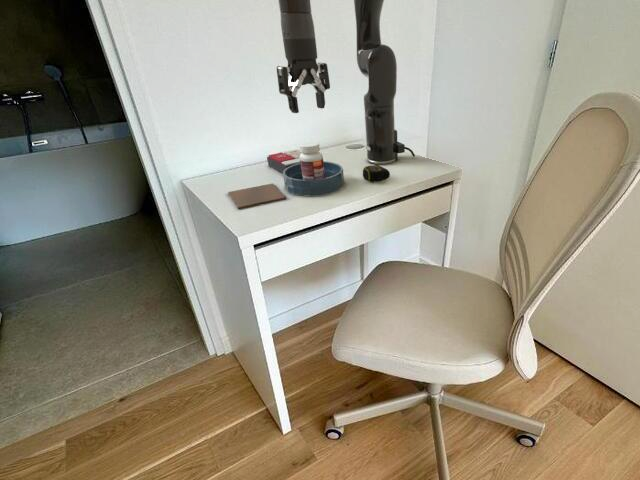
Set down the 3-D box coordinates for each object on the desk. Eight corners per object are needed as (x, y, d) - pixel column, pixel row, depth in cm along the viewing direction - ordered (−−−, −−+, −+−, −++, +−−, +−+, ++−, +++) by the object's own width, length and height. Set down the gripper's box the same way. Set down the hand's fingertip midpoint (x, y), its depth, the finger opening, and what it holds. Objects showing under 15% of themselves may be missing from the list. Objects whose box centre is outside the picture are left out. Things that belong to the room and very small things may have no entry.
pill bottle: (319, 189, 106) (313, 148, 100) (299, 187, 108) (292, 146, 102) (330, 182, 111) (325, 141, 105) (311, 180, 113) (305, 140, 106)
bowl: (330, 172, 119) (329, 157, 116) (353, 189, 108) (352, 173, 105) (278, 182, 112) (275, 167, 109) (297, 201, 101) (294, 184, 98)
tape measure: (391, 181, 113) (390, 168, 110) (370, 186, 109) (369, 173, 107) (379, 174, 117) (378, 162, 115) (359, 179, 114) (358, 166, 112)
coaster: (272, 185, 110) (272, 183, 110) (286, 199, 102) (285, 197, 102) (228, 194, 105) (228, 191, 105) (238, 209, 97) (238, 207, 96)
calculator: (297, 148, 128) (319, 156, 118) (300, 161, 130) (321, 170, 120) (265, 154, 122) (285, 163, 112) (268, 168, 125) (288, 178, 114)
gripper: (284, 37, 85) (295, 116, 94) (332, 36, 94) (338, 108, 103) (263, 36, 88) (276, 112, 97) (311, 35, 98) (319, 104, 107)
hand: (308, 110), depth 100 cm, fingers open, 8 cm apart
